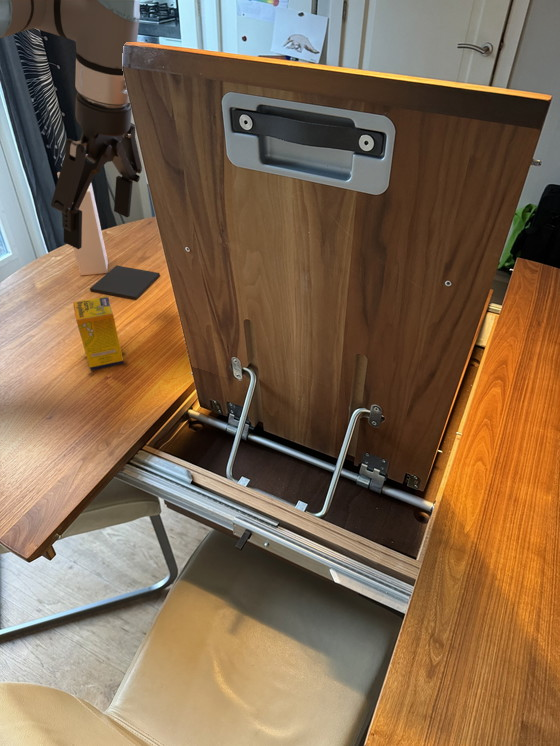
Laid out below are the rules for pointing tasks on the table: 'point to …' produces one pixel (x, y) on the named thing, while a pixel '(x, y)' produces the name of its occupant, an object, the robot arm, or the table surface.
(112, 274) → the mat
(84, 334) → the supplement box
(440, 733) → the table surface
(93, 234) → the milk
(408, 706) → the table surface
